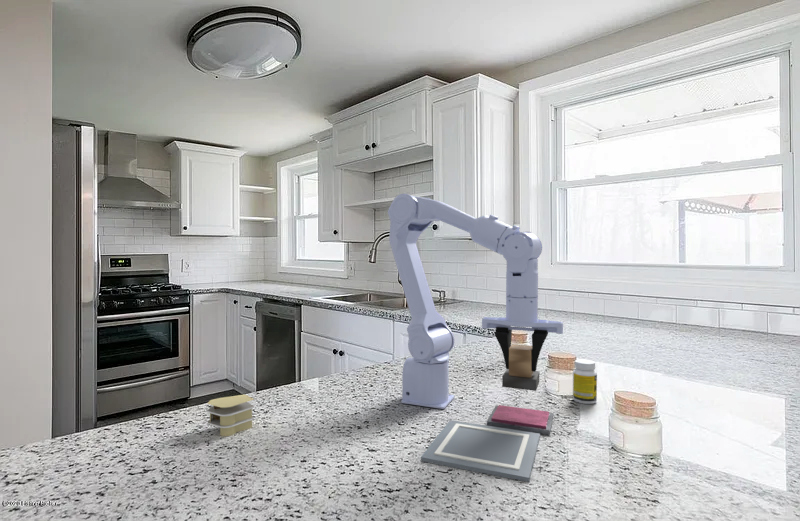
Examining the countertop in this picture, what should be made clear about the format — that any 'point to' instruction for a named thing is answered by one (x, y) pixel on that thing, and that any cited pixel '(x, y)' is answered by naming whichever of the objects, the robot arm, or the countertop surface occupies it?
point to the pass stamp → (520, 369)
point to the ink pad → (521, 419)
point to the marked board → (484, 449)
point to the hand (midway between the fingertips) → (521, 368)
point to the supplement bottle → (585, 382)
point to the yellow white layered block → (231, 414)
